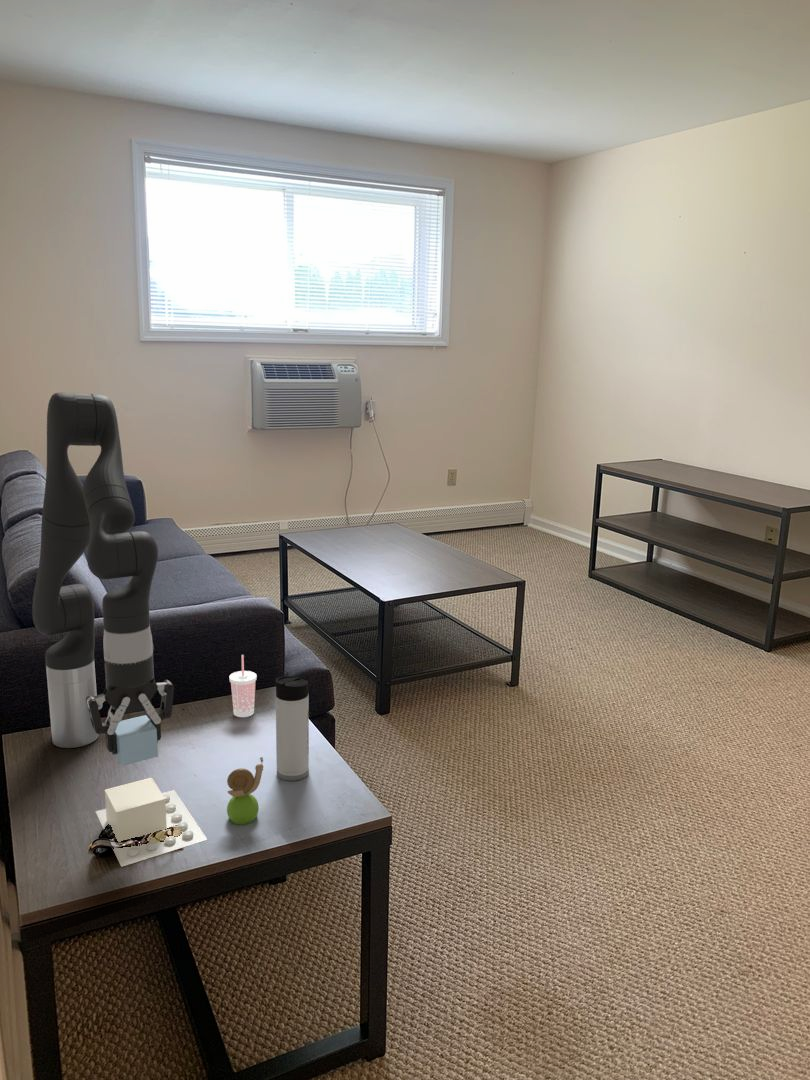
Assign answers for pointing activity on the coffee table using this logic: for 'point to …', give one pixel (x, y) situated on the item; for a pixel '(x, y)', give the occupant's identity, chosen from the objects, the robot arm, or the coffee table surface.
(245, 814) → the snail figurine
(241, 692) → the beverage cup
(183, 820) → the build plate
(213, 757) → the coffee table surface
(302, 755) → the travel mug
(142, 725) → the blue brick
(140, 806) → the base brick
